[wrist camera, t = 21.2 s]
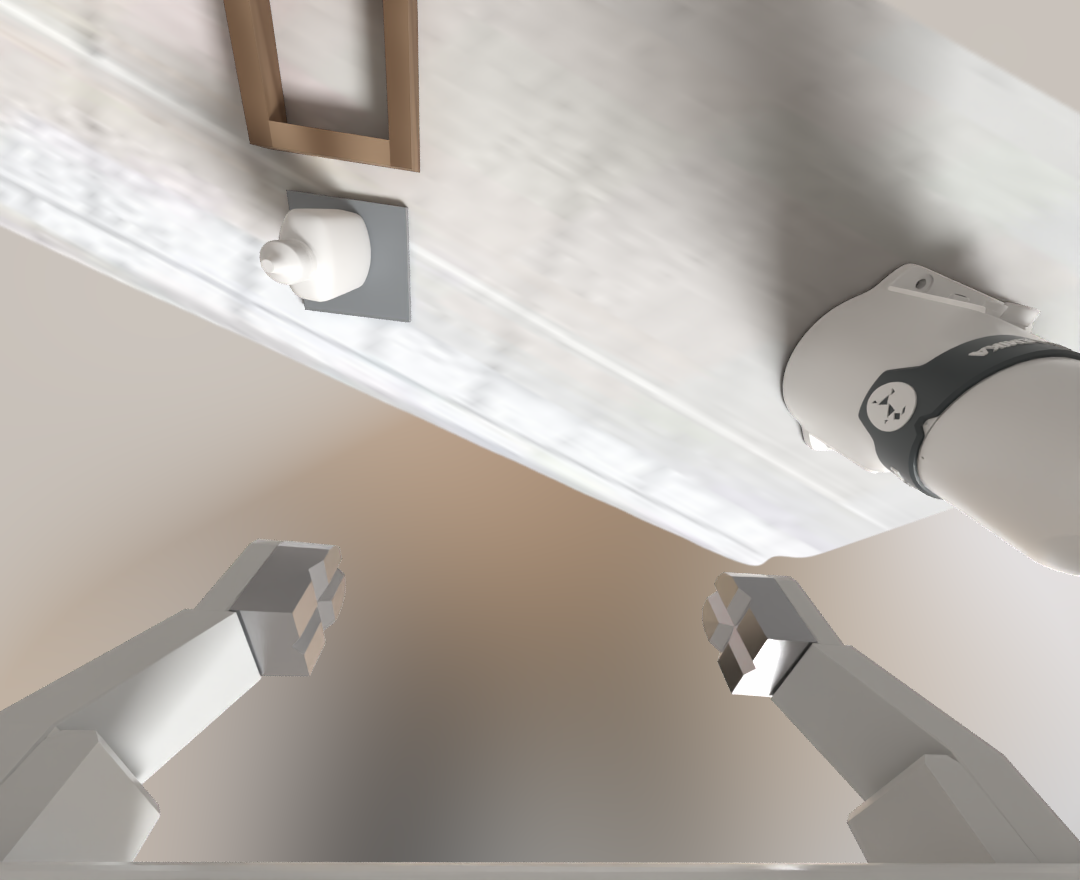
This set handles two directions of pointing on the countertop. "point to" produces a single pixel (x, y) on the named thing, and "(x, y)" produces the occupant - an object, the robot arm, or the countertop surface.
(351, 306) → the coaster
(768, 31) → the countertop surface
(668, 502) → the countertop surface
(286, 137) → the block
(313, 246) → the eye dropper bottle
